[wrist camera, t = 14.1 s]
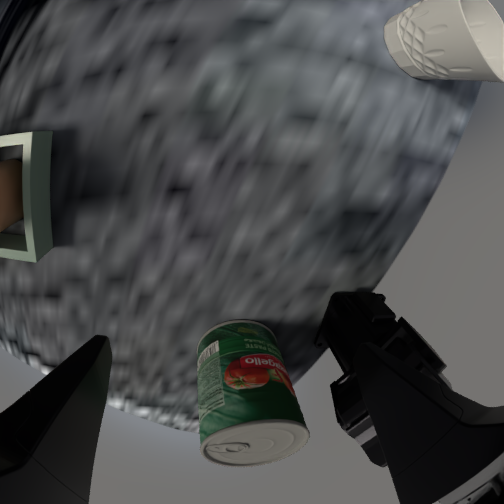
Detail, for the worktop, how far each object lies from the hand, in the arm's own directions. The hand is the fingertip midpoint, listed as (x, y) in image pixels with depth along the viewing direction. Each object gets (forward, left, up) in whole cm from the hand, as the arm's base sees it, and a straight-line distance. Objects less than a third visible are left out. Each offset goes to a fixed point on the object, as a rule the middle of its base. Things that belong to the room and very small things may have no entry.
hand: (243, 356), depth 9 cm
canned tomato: (-12, -3, -13) cm, 18 cm away
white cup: (+20, -14, -13) cm, 28 cm away
